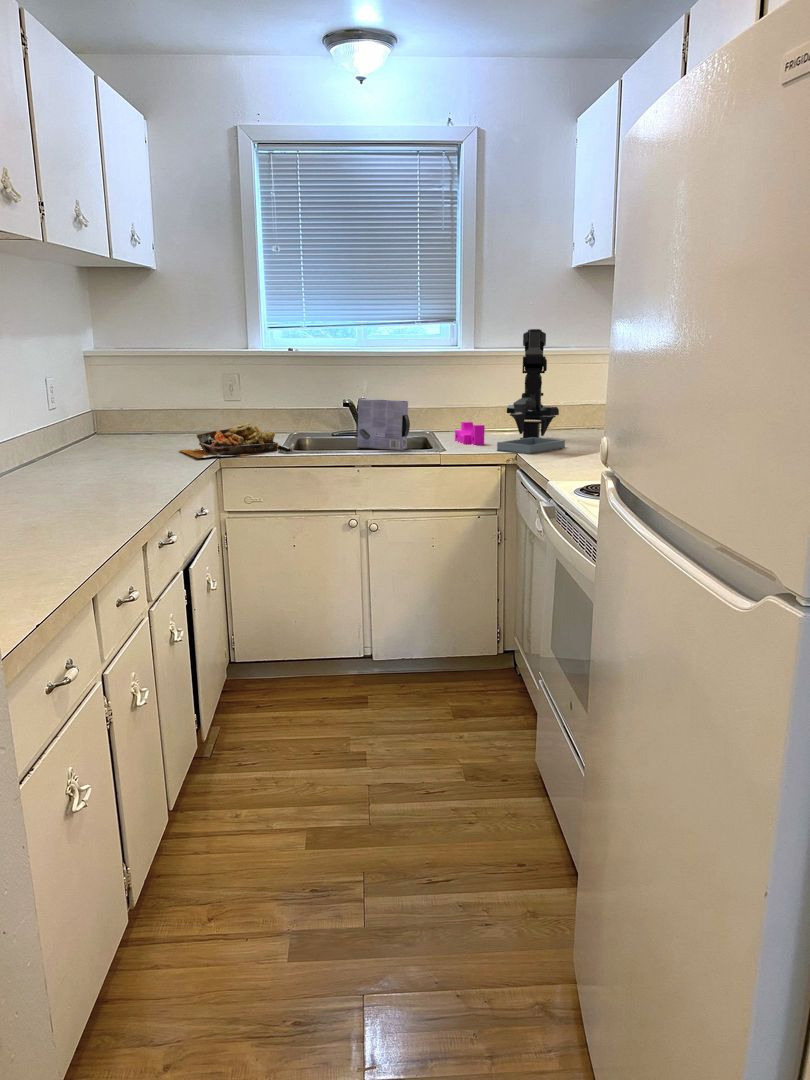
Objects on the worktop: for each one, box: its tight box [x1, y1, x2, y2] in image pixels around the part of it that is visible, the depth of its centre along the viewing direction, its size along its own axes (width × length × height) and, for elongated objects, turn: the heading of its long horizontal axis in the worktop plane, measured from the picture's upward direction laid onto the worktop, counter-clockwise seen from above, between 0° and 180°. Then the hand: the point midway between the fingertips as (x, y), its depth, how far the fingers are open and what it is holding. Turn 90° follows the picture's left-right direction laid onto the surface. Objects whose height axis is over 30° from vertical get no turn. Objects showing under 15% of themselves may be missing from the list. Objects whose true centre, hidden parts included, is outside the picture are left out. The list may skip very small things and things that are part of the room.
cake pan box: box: [357, 398, 411, 451], centre depth 287 cm, size 19×5×18 cm, turn 65°
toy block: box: [454, 421, 485, 446], centre depth 303 cm, size 15×6×8 cm, turn 16°
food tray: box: [178, 422, 295, 459], centre depth 284 cm, size 35×26×11 cm
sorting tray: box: [496, 437, 566, 455], centre depth 284 cm, size 21×14×3 cm, turn 135°
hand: (531, 434), depth 283 cm, fingers open, 9 cm apart
